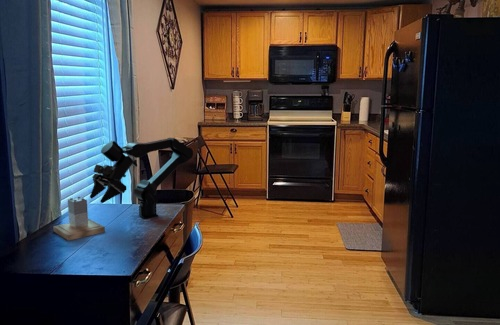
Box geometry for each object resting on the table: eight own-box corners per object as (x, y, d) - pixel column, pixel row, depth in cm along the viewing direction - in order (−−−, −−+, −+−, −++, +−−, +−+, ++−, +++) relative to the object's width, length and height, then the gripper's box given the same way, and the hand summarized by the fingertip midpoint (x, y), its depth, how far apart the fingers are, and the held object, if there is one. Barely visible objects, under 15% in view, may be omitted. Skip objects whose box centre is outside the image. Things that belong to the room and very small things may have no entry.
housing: (82, 222, 162) (80, 196, 160) (88, 226, 158) (86, 198, 157) (69, 225, 159) (67, 198, 157) (75, 229, 155) (73, 201, 153)
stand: (89, 223, 169) (88, 217, 168) (105, 231, 159) (104, 225, 159) (53, 231, 159) (53, 225, 159) (68, 240, 149) (67, 234, 149)
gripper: (95, 153, 169) (70, 184, 164) (117, 159, 156) (91, 193, 151) (114, 169, 176) (91, 199, 170) (137, 176, 163) (112, 209, 158)
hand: (95, 200), depth 162 cm, fingers open, 9 cm apart
